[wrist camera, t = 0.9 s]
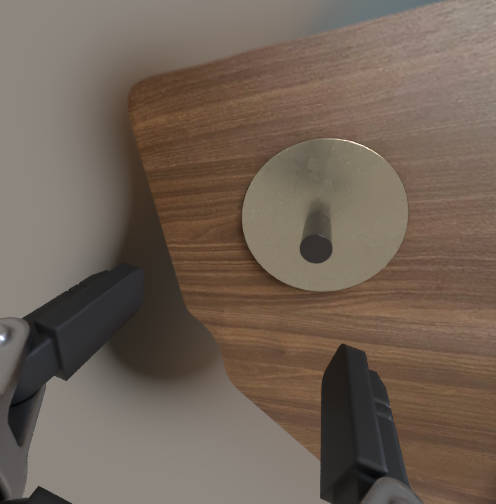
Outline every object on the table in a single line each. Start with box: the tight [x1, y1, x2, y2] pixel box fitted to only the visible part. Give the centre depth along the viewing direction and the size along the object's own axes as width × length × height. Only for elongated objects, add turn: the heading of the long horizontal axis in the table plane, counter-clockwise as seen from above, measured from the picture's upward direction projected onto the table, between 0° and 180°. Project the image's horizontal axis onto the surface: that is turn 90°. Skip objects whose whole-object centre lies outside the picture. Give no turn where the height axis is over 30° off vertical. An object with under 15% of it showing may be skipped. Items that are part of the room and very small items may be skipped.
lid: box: [242, 138, 409, 291], centre depth 22 cm, size 15×15×7 cm
